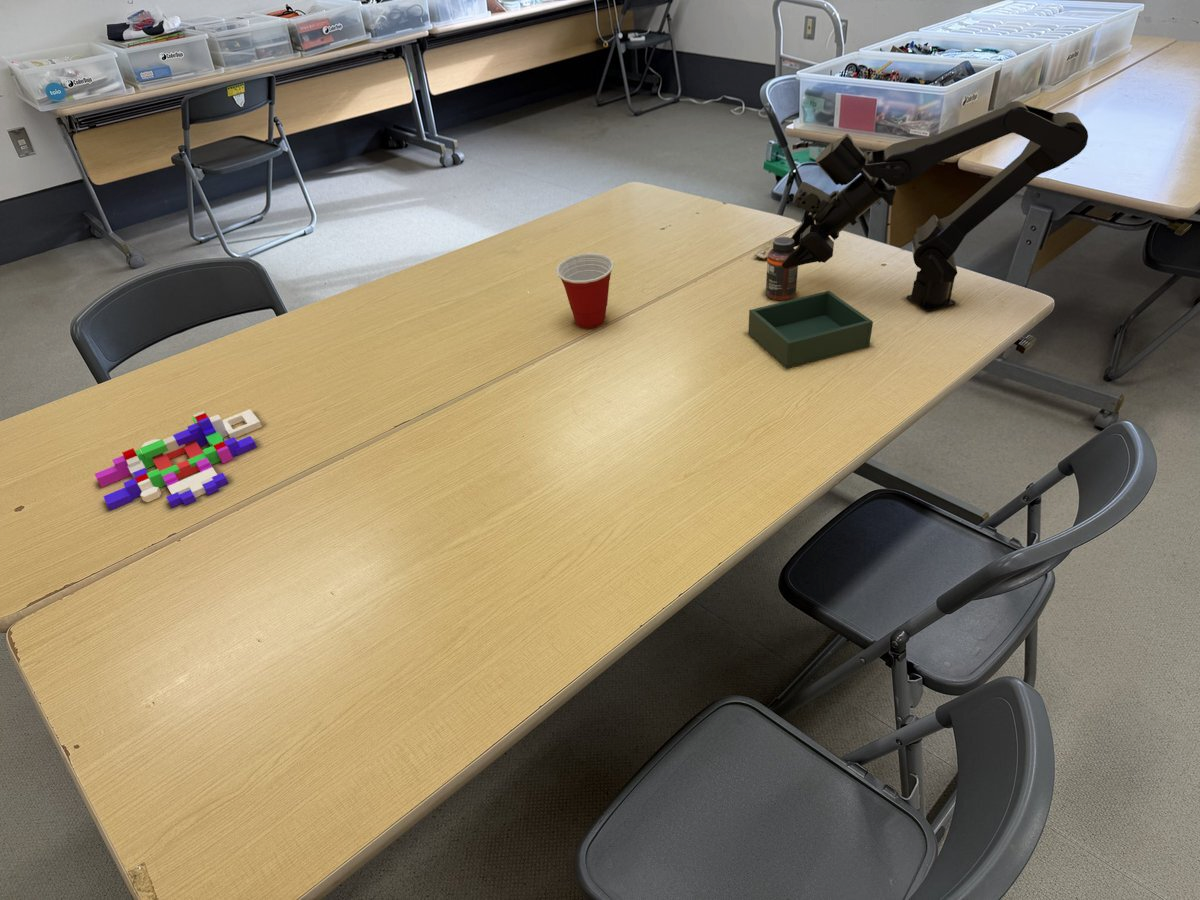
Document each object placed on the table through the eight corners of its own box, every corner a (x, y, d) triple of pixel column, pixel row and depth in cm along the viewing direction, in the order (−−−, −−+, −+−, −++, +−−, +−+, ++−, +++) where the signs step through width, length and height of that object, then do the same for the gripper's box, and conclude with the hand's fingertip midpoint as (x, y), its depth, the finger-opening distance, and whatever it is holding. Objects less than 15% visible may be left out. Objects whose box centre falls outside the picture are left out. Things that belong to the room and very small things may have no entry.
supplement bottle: (799, 290, 157) (803, 236, 151) (791, 303, 153) (796, 248, 146) (769, 286, 160) (772, 233, 153) (761, 299, 155) (764, 245, 149)
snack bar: (769, 240, 176) (782, 237, 174) (771, 246, 177) (783, 244, 175) (752, 255, 170) (765, 253, 168) (754, 262, 170) (767, 259, 169)
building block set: (120, 534, 112) (106, 510, 110) (92, 468, 126) (79, 446, 123) (288, 460, 124) (279, 437, 121) (246, 407, 137) (237, 385, 135)
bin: (826, 314, 149) (829, 290, 146) (869, 346, 138) (873, 321, 135) (748, 334, 145) (749, 310, 142) (786, 369, 134) (788, 343, 131)
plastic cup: (553, 332, 151) (546, 274, 144) (575, 306, 159) (569, 250, 152) (605, 339, 147) (600, 280, 140) (625, 312, 155) (622, 255, 148)
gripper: (825, 153, 147) (762, 209, 156) (820, 187, 133) (751, 246, 142) (863, 196, 150) (799, 248, 159) (862, 234, 136) (792, 289, 145)
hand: (785, 256), depth 151 cm, fingers open, 9 cm apart
